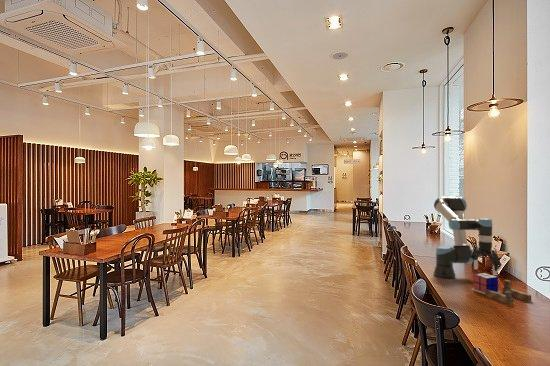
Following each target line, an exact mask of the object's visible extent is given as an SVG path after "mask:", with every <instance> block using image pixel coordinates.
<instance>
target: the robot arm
mask: <svg viewBox="0 0 550 366" xmlns="http://www.w3.org/2000/svg"><path fill="white" fill-rule="evenodd" d="M433 203H434V204H433V207H434V209H435V211H436V212H438V213H440V214H441V215H442V217H444V218H445V220H446V221H448V226H449V229H450V230H452V233H453V239H454V245H453V246H451V245H440V246H438V247H436V249H435V260H436V261H435V267H434V270H433V276H435V277H438V278H440V279H449V280H450V279H452V280H453V279H455V278H456V273H455V270H454V266H453V264H465V265H466V264H473V270H478V269H479V261H478V259H479V258H480V257H481V256H487V257H488V258H489V260H490V261H491V262H492V264H493V265H492V276H498V271H499V266H502V263H501V260H500V258H499V255H498V254H497V250H496V249H494V250H493V249H492V248H493V220H492V219H491V218H486V217H480V218H472V219H470V218H469V219H468V218H467V219H466V218H465V219H464V214H465V211H466V210H467V207H468V204H467V200H466V199H465V198H464V197H462V196H440V197H438V198H436V199H435V201H434V202H433ZM466 231H478V245H476V246H474V249H473V248H471V246H470V245H469V243H468V240H467V234H466Z"/></svg>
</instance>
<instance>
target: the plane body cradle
mask: <svg viewBox="0 0 550 366" xmlns="http://www.w3.org/2000/svg"><path fill="white" fill-rule="evenodd" d="M484 296H485V297H487V298H490V299H493V300H495V301H498V302H501V303H504V304H507V305H509V306H513V305H514V298H516V299H519V300H522V301H524V302H528V303H530V302H532V295H531V294H529V293H526V292H522V291H520V290H516V289H514V288H512V281H511V280H509V279H504V280H503V287H502V293H501V292H500V293H497V292H494V291H491V290H489V289H487V290H485V294H484Z"/></svg>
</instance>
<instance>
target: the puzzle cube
mask: <svg viewBox="0 0 550 366" xmlns="http://www.w3.org/2000/svg"><path fill="white" fill-rule="evenodd" d="M473 288H474V289H476V290H479V291H482V292H485V290H487V289H489V290H491V291H494V292H499V277H498V276H497V275H493V274H489V273H486V272H483V273H473Z"/></svg>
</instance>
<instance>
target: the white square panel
mask: <svg viewBox="0 0 550 366" xmlns="http://www.w3.org/2000/svg"><path fill="white" fill-rule="evenodd" d="M471 290H472V291H475V292H477V293H480V294H483V295H485V292H482V291H479V290H476V289H474V287H473V288H471ZM497 293H500V294H501V292H500V291H498V292H497Z"/></svg>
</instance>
